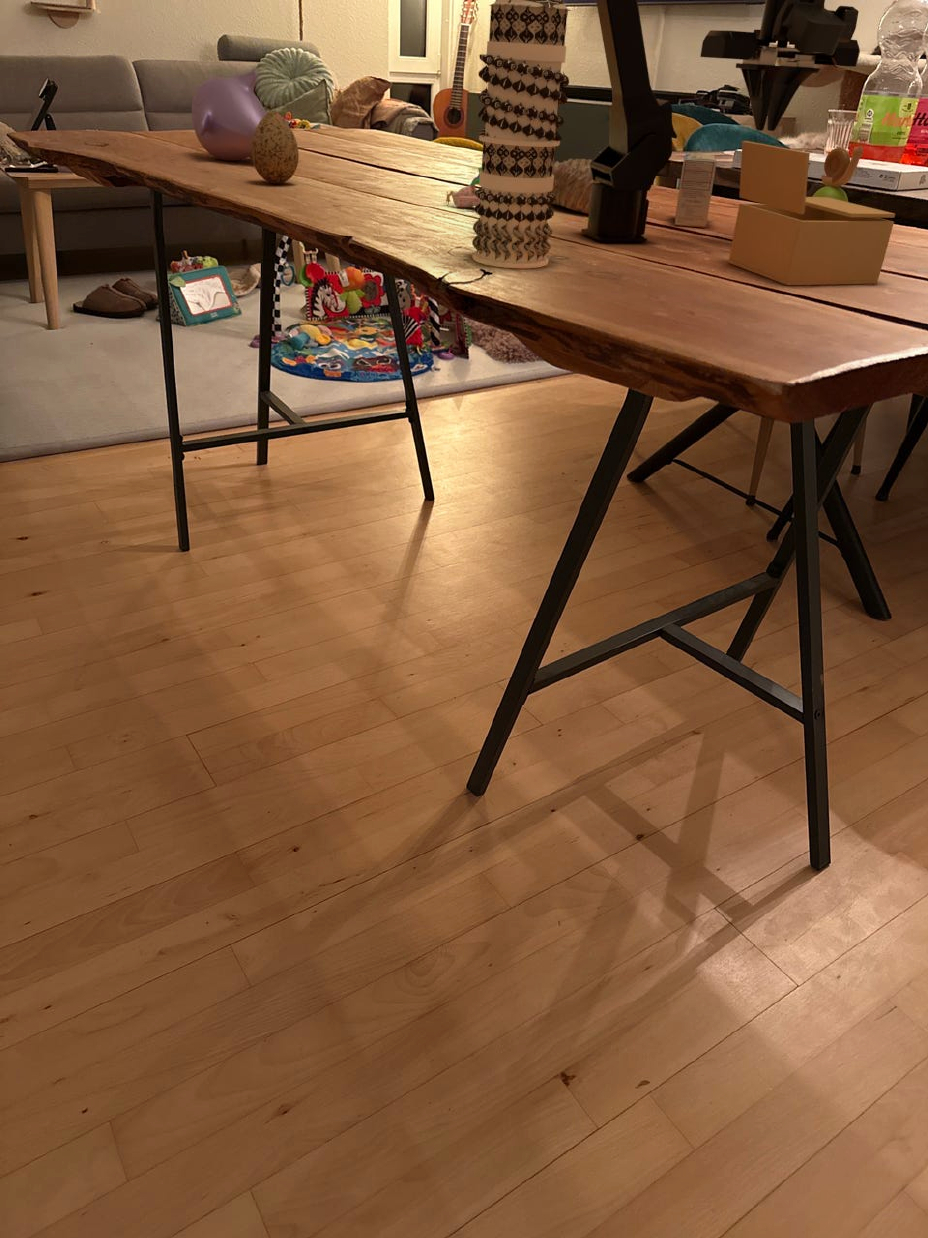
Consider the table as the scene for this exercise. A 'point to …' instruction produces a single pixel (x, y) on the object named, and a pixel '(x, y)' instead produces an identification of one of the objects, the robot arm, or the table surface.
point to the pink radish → (466, 194)
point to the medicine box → (695, 190)
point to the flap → (774, 176)
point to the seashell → (573, 184)
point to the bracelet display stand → (520, 131)
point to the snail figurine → (839, 172)
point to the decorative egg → (274, 149)
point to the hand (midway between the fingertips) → (765, 130)
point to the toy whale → (227, 115)
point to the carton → (812, 242)
